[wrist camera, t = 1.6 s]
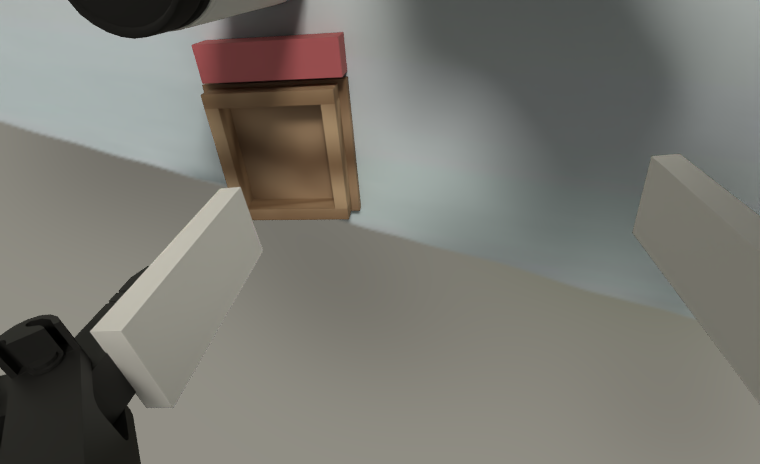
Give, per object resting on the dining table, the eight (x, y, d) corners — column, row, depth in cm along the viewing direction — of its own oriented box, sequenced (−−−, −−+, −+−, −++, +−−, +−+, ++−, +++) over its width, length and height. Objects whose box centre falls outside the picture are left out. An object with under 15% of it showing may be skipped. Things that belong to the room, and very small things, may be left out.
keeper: (206, 83, 37) (190, 91, 34) (347, 76, 35) (342, 84, 33) (241, 208, 44) (230, 222, 41) (360, 206, 42) (357, 221, 40)
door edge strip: (205, 40, 35) (191, 45, 33) (343, 32, 34) (337, 36, 31) (215, 76, 36) (202, 83, 34) (347, 70, 35) (342, 77, 33)
